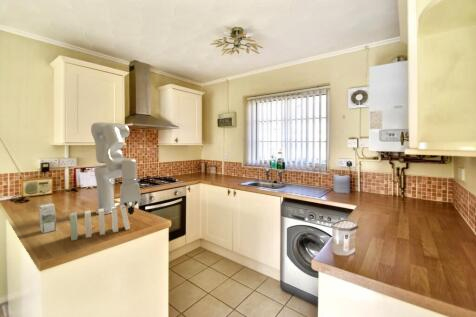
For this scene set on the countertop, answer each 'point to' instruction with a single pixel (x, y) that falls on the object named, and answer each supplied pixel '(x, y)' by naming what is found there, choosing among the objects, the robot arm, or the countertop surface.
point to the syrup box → (47, 217)
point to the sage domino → (73, 226)
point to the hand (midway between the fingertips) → (131, 213)
